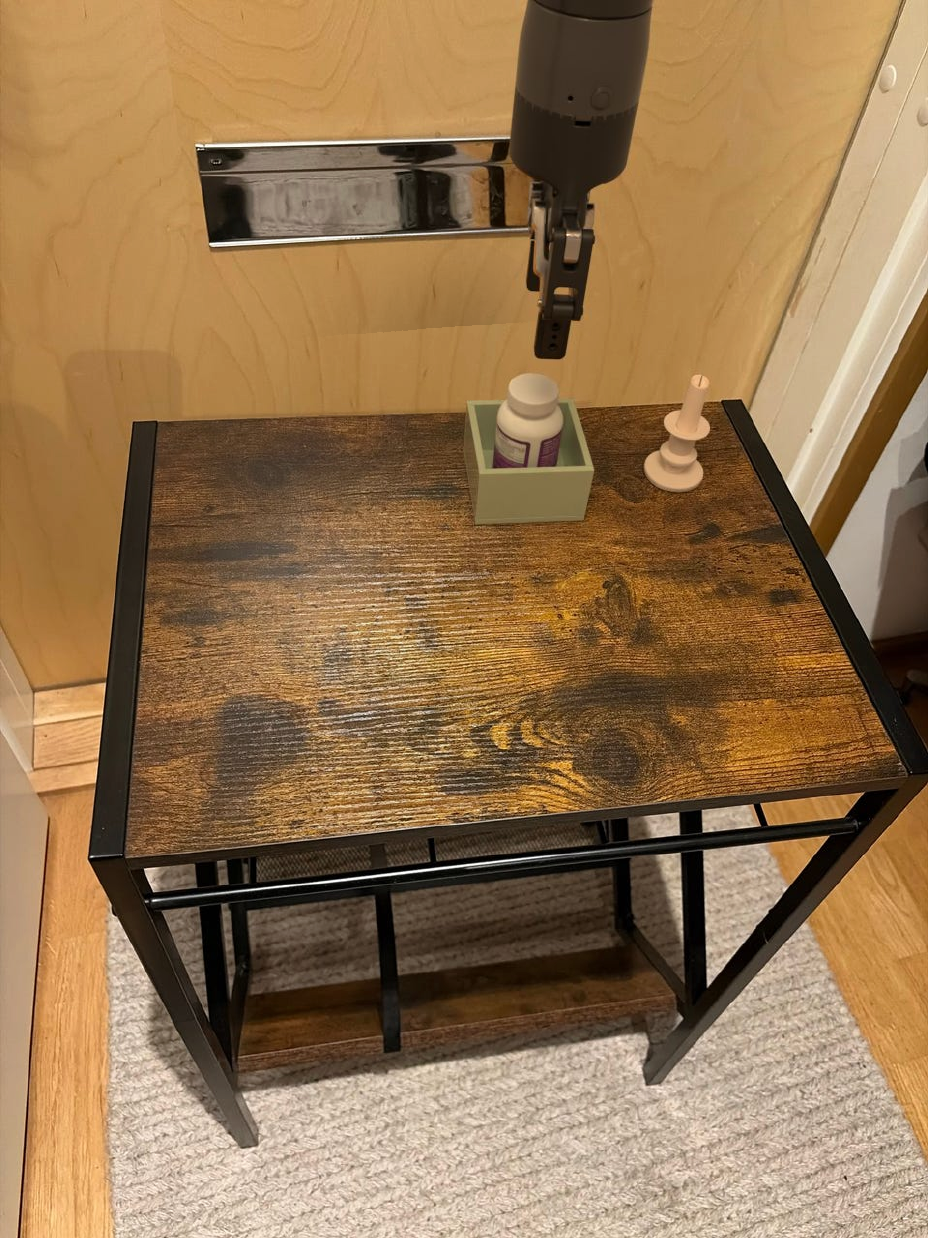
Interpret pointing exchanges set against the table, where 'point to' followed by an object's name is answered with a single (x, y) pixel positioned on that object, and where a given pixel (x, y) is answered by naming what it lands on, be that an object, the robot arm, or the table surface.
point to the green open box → (525, 472)
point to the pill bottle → (528, 424)
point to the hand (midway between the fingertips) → (544, 321)
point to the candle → (681, 443)
